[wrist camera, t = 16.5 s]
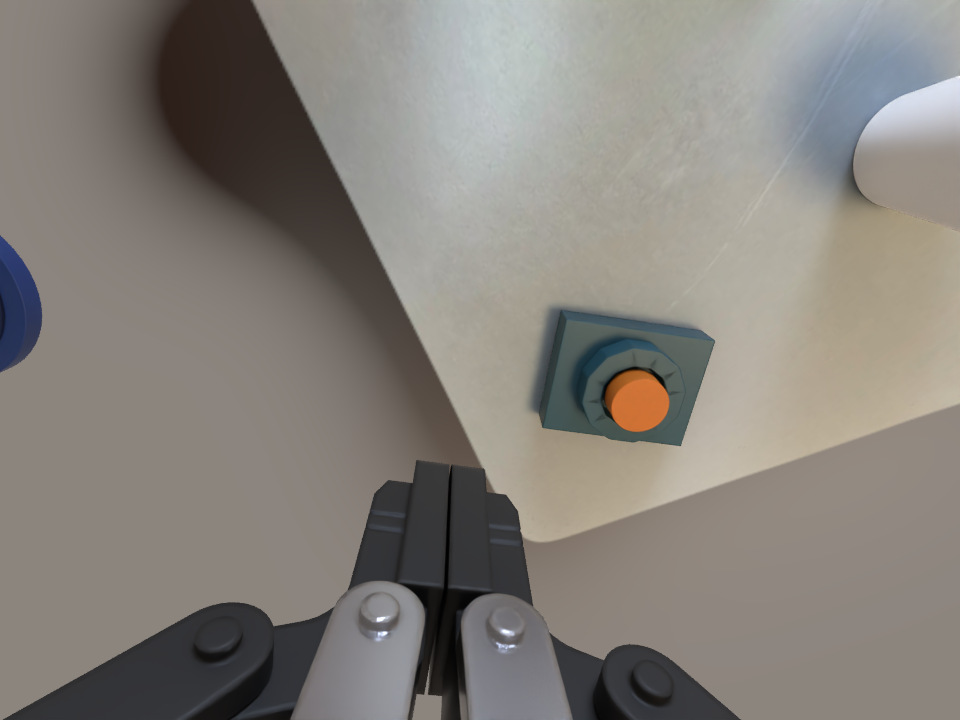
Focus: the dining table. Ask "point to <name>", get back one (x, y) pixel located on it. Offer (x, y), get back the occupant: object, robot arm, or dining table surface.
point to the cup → (914, 155)
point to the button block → (610, 351)
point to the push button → (636, 400)
